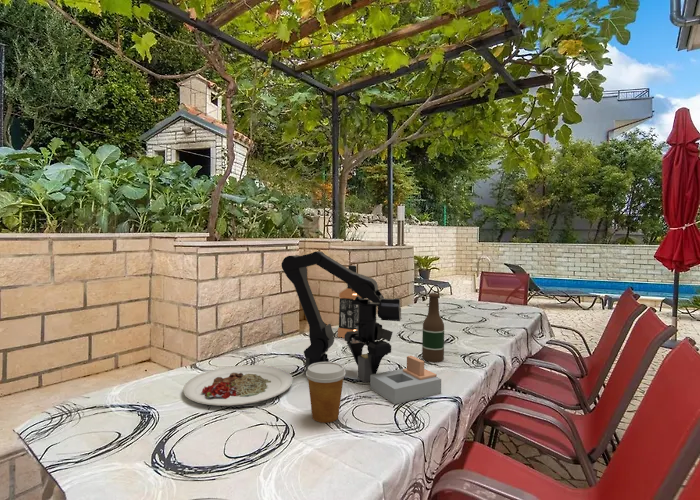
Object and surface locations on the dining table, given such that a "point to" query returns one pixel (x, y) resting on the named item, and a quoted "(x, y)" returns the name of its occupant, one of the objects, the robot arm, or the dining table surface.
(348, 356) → the dining table surface
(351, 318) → the whiskey bottle
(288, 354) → the dining table surface
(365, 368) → the grey rectangular block
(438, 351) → the beer bottle
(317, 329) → the robot arm
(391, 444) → the dining table surface
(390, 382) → the socket
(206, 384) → the plated food
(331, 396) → the disposable coffee cup
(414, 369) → the shutter
